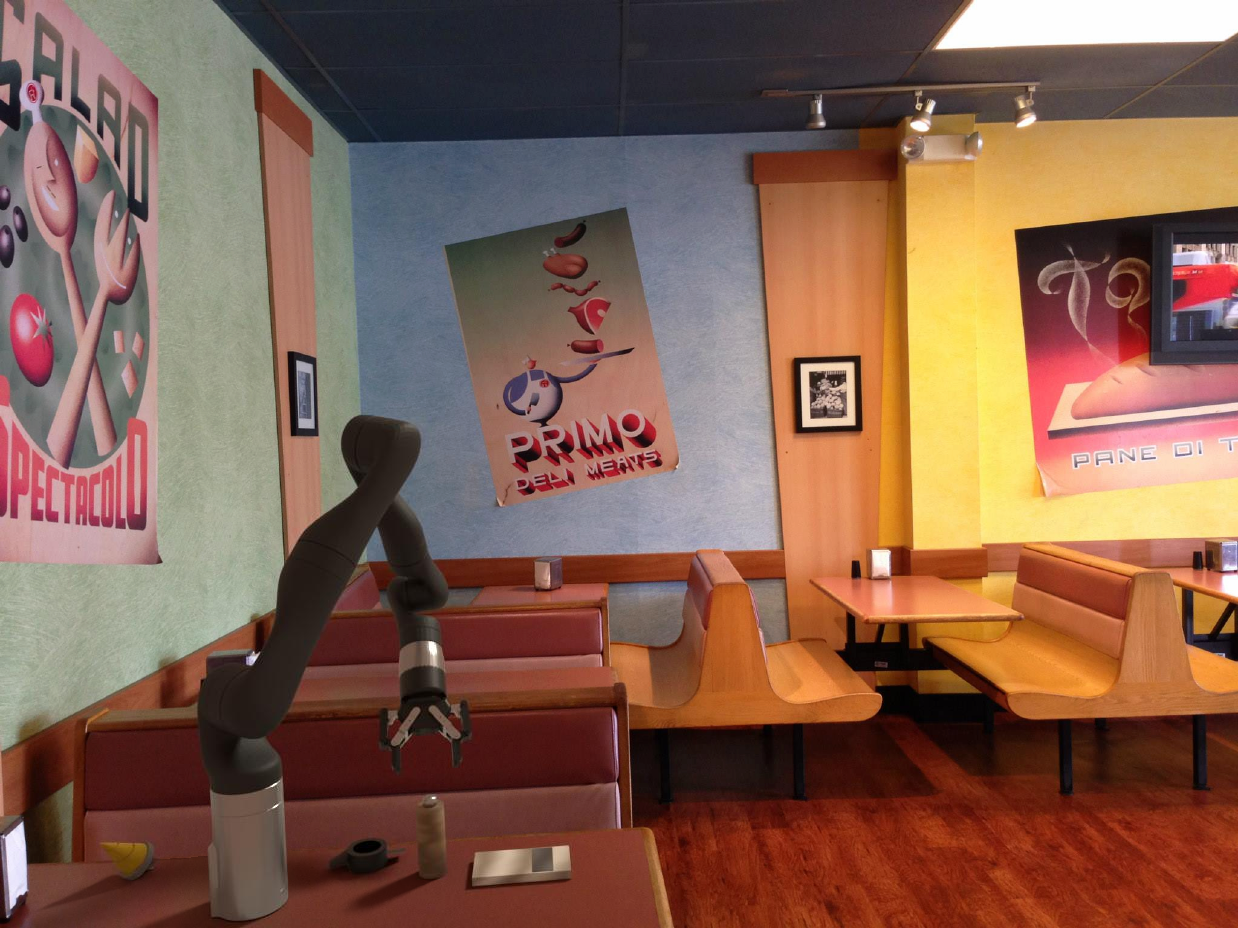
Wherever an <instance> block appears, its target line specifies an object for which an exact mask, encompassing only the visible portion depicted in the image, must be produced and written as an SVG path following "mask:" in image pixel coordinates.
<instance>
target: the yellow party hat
mask: <svg viewBox="0 0 1238 928" xmlns="http://www.w3.org/2000/svg"><path fill="white" fill-rule="evenodd" d="M99 843H100V846H101V847H102V848H103V850H104V851H105V853H106V854H107V855H108V857H110V859H111V860H112V862H113V863H114V864H115V865H116V867H117V868H118V869H119V875H120V877H122V879H125V880H127V881H134V880H136V879H138V878H139V877H140V876H141V875H143V874H144V873H145V872H146V870H149V871H150V870H154V869H155V868H154V867H153V866H154V865H155V864H156V863H157V862H158V860H159V859H158V858H156V857H154V855H155V854H154V853H155V848H154V847H155V846H154V845H153V844H152V843H150V842H148V841H146V840H141V841H139V842H136V843H135V842H132V843H131V842H99Z"/></svg>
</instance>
